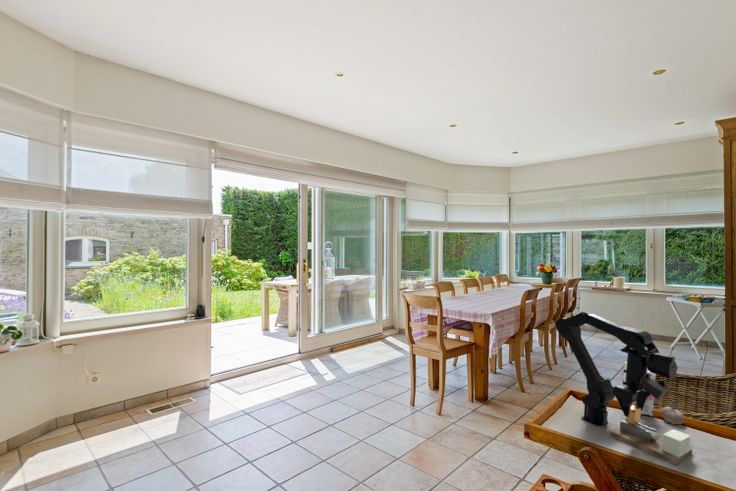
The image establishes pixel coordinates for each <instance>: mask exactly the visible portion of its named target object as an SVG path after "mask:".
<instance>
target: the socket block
mask: <svg viewBox="0 0 736 491" xmlns="http://www.w3.org/2000/svg"><path fill="white" fill-rule="evenodd" d="M662 437H663V443H662V450H663V451H665V452H668V453H670V454H672V455H675V456H677V457H681V456H683V455H684V454H686V453H687V452H689V448H690V442H691V435H690V434H686V433H684V432H681V431H679V430H676V429H674V428H673V429H671V430H668V431H667V432H665V433H663V435H662Z"/></svg>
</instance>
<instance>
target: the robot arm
mask: <svg viewBox="0 0 736 491" xmlns="http://www.w3.org/2000/svg"><path fill="white" fill-rule="evenodd" d="M586 324H587V325H588V326H591V327H593V328H595V329H597V330H599V331H603V332H604V333H606V334H609V335H610V336H614V337H615V338H616V339H618V341H620V342H621V343H622V344H624V345H626V346H624V347H623V348H621V349H620V352H622V353H626V354H627V356H626V362H627V368H626V369H624V368H623V373H624V372H625V373H626V380H625V381H623V380H622V384H618V385H615V386H613V385H612V382H611V380H610V378H604V377H603V376H602V375H601V374H600V372H599V370H598V367H597V366H596V365H595V362H594V360H593V359H592V357H591V355H590V352H589V350H588V349H587V347H586V344H585V343H584V341H583V339H582V328H581V326H584V325H586ZM554 327H555V329H556V331H557V332H558V333H559V334H560V336H561V337H562V338H563V339H564V340H565V342H566V341H567V343H568V345H569V346H570V349H571V351H572V352H573V355H574V357H575V358H576V361H577V363H578V365H579V367H580V369H581V371H582V373H583V375H584V377H585V379H586V390H587V392H588V394H586V395H584V396H582V397H581V400H582V404H584V408H583V416H581V417H580V418H581V419H582V420H584V421H586V422H588V423H591V424H593V425H596V426H598V427H599V426H603V425H605V424H608V423H609V420H608V410H607V405H608V404H610V402H612V401H613V400H614V399H616V401H617V402H618V404H619V407H620V409H621V411H622V413H623V415H624V417H625V418H627V417H628V416H629V413H630V409H631V405H632V403H633V402H635V401H636V405H637V407H639V408H641V411H642V409H643V407H644V405H645V403H646V401H647V398H648V397H649V396H650V395H652V396H653V397H654V399H656V400H660V399H661V398H664V397H665V394H666V393H669V390H668V389H669V387H668V382H667V381H665V380H664V379H661V380H657V379H656V380H653V379H651V378H650V374H649V372H647V369H648V370H649V371H650V372H651V373H654V374H656V376H657V375H658V376H662V377H664V378H667V379H671V380H672V379H674V378H675V377H676V375H677V372H678V365H677V362H676V360H675V359H676V358H675V356H672V355H666V354H662V353H660V351H659V349H658V348H657V346H656V345H655V343H654V342H653V338H652V335H651V334H650V332H648V331H647V330H642V329H638V328H635V327H628V326H623V325H621V324H618V323H616V322H613V321H611V320H608V319H606V318H604V317H602V316H600V315H597V314H595V313H592V312H591V311H589V310H587V311H581V312H579V313H577V314H575V315H571V316H568V317H567V316H566V317H560V318H558V319H557V320H556V322H555V325H554ZM623 384H624V385H627V387H626V386H623Z"/></svg>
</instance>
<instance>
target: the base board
mask: <svg viewBox="0 0 736 491" xmlns="http://www.w3.org/2000/svg"><path fill="white" fill-rule="evenodd" d="M608 436H611V437H613V438H616V439H617V440H620V441H622V442H624V443H626V444H629V445H631V446H633V447H635V448H638V449H639V450H642V451H644V452H645V453H646V452H647V453H648V454H651V455H652V456H655V457H657V458H659V459H661V460H664V461H667V462H669V463H670V464H673V465H678V464H679V463H681V461H683V460H685V459H687V458H689V457H690V456H691V455H692V454H693V448H691V447H689V452H687V453H686V454H684V455H683V456H681V457H677V456H675V455H672V454H670V453H668V452H665V451H663V450H662V443H663V436H661V435H658V439H657V440H654V441H652V442H647V441H645V440H643V439H640V438H638V437H636V436H633V435H631V434H629V433H626V432H624V431H622V430H620V425H617V426H615V427H614V428H612V429H609V430H608Z"/></svg>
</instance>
